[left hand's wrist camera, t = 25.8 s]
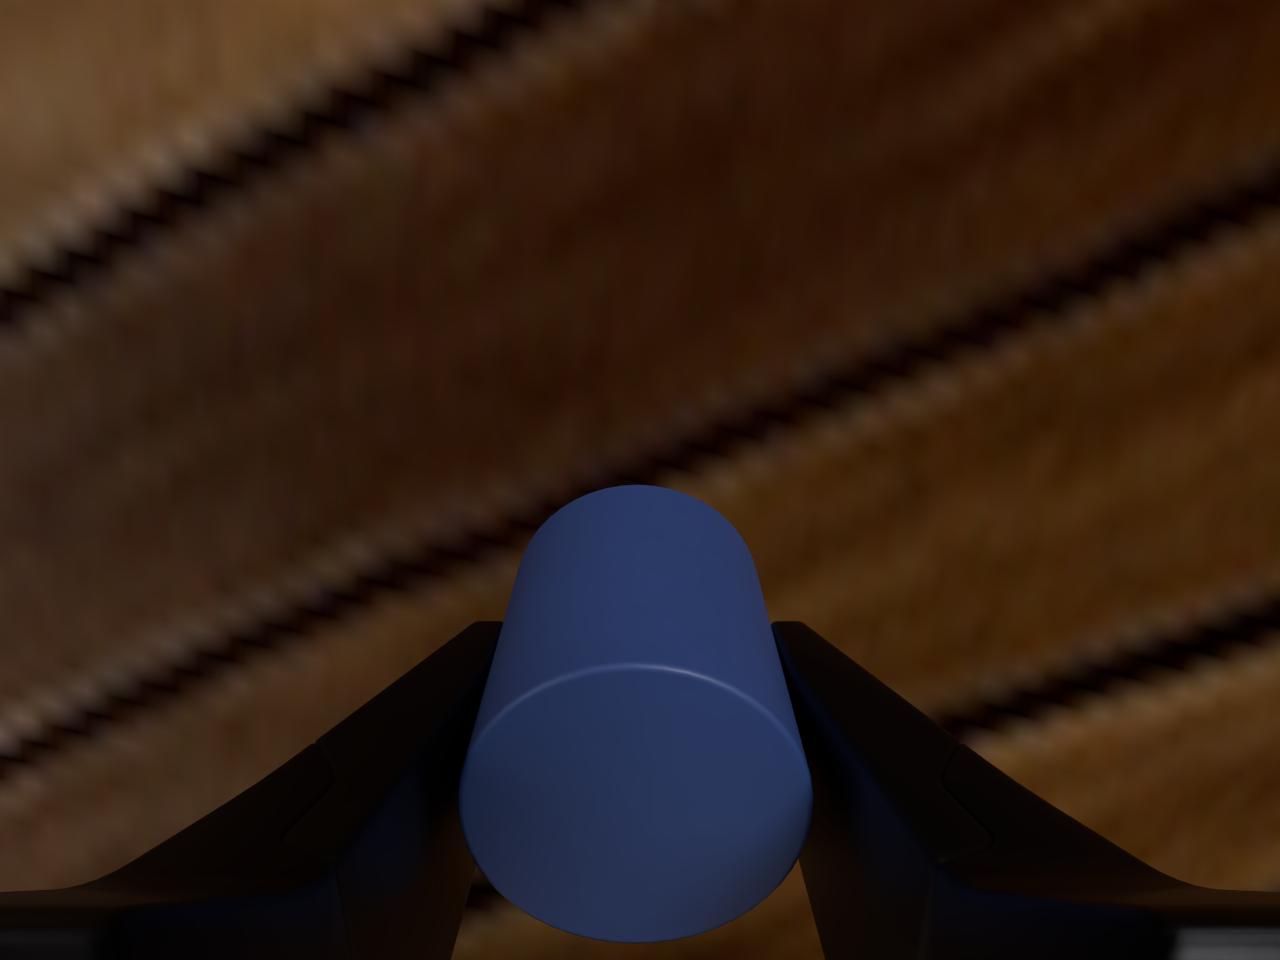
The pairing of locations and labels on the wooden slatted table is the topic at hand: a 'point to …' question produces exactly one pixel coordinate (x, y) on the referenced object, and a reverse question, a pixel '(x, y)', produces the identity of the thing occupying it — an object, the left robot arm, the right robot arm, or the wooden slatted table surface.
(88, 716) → the wooden slatted table surface
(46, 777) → the wooden slatted table surface
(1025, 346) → the wooden slatted table surface
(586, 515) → the cylinder
